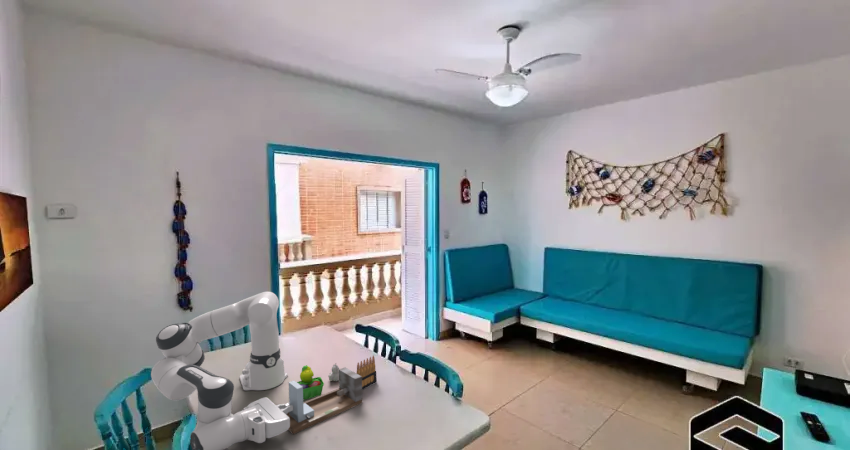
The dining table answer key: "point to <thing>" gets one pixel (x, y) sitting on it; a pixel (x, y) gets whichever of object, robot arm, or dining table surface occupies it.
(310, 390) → the fruit basket
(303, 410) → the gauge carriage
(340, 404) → the base
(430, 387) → the dining table surface
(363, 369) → the ammunition clip
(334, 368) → the grey figurine
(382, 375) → the dining table surface
